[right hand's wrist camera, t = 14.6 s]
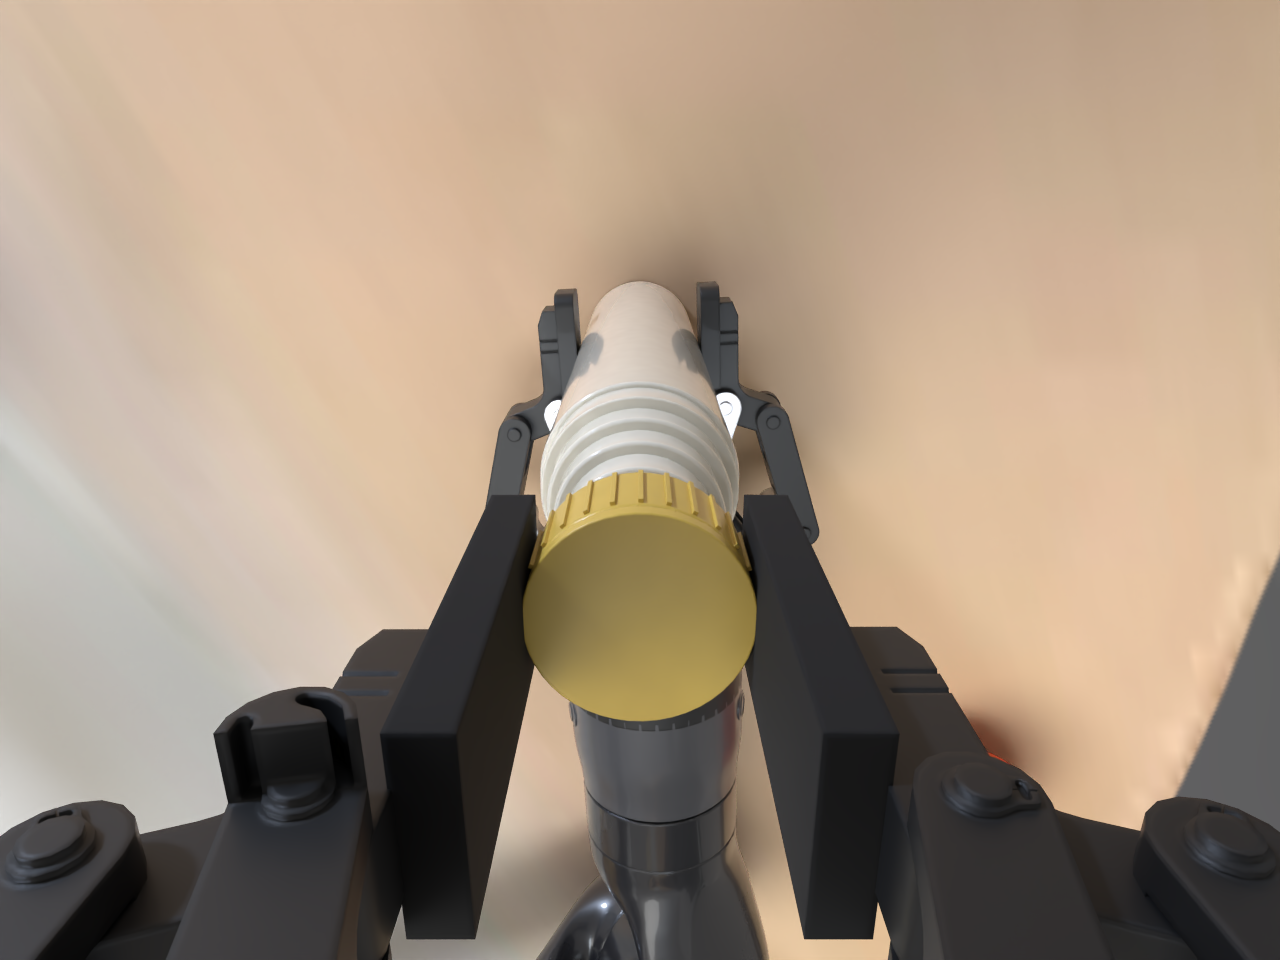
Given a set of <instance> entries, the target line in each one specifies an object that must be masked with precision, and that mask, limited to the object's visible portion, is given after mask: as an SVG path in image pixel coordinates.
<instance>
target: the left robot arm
mask: <svg viewBox="0 0 1280 960" xmlns="http://www.w3.org/2000/svg"><path fill="white" fill-rule="evenodd" d="M538 332H539V341H540V352H541V365H542V376H543V387H544V391H543V394H542V395H541V396H539V397H538V398H536V399H533V400H531V401H529V402H526V403H518V404H515V405H514V406H513V407H512V408H511V409H510V411H509V412H508V414H507V416H506V418H505V419H504V421H503V423H502V425H501V426H500V428H499V432H498V438H497V444H496V450H495V455H494V461H493V467H492V473H491V479H490V484H489V490H488V496H487V502H486V506H487V504H488V502H489V500H490V498H491V495H524V490H525V485H526V479H527V474H528V469H529V463H530V458H531V453H532V448H533V442H534V440H536V439H538V438H541V437H543V436H545V435H548V434H550V431H551V428H552V425H553V422H554V420H555V417H556V414H557V411H558V409H559V406H560V403H561V400H562V397H563V395H564V392H565V389H566V386H567V383H568V381H569V378H570V375H571V372H572V370H573V367H574V364H575V361H576V358H577V356H578V353H579V350H580V347H581V336H580V322H579V308H578V295H577V289H560V290H557V292H556V293H555V295H554V306H546V307H545V309H544V310H543V311H542V314H541V317H540V321H539V324H538ZM697 336H698V345H699V348H700V351H701V354H702V357H703V359H704V362H705V365H706V368H707V371H708V373H709V376H710V379H711V382H712V385H713V387H714V390H715V393H716V396H717V399H718V402H719V404H720V407H721V410H722V413H723V416H724V418H725V421H726V424H727V427H728V430H729V433H730V435H731V438H732V437H733V434H734V431H735V428H736V425H738V426H742V427H745V428H748V429H751V430H755V431H756V434H757V438H758V441H759V445H760V448H761V452H762V455H763V459H764V462H765V466H766V469H767V472H768V476H769V479H770V483H771V486H772V487H771V488H768V489H765V490H764V491H762V492H761V493H760V495H788V497H789V499H790V501H791V503H792V505H793V507H794V509H795V512H796V514H797V516H798V518H799V520H800V522H801V524H802V526H803V529H804V531H805V533H806V535H807V537H808V539H809V541H810V544H813V543H814V542H815V541H816V540H817V538H818V536H819V527H818V524H817V520H816V516H815V513H814V509H813V505H812V502H811V498H810V494H809V491H808V487H807V483H806V480H805V476H804V472H803V469H802V465H801V461H800V457H799V454H798V450H797V446H796V443H795V439H794V435H793V432H792V428H791V424H790V421H789V417H788V415H787V413H786V411H785V410H784V409H783V408H782V407H781V405H780V402H779V400H778V399H777V397H776V396H775V395H774V394H773V393H771V392H768V391H761V392H758V391H754V390H751V389H748V388H745V387H744V386H742V385H741V384H740V383H739V380H738V314H737V312H736V309H735V307H734V305H733V302H732V301H731V300H730V298H729V297H720V296H719V286H718V285H717V283H716V282H697ZM485 508H486V507H485ZM536 522H537V535H538V532H539V530H542V531H543V529H544V526H542V524H541V523H540V521H539V511H538V507H537V506H536ZM733 524H734V527H735V529H736V531H737V533H738V532H741V534H742V531H743V518H742V517H741V516H740V514H739V513H738V512H737V511H736V513H735V516H734V519H733ZM741 682H742V670H741V671H740V673H739V674H738V675H737V676H736V678H735V679H734V680H733V681H732V682H731V683H730V684H729V685H728V686H727V687H726V688H725V689H724V690H723V691H722V692H721V693H720V694H718V695H717V696H716V697H715V698H713V699H712V700H710V701H709V702H707V703H705V704H704V705H702V706H700V707H698V708H696V709H694V710H692V711H689V712H687V713H684V714H681V715H678V716H675V717H671V718H666V719H661V720H652V721H626V720H619V719H613V718H609V717H605V716H601V715H598V714H595V713H593V712H590V711H587V710H585V709H583V708H581V707H579V706H577V705H576V704H574V703H572V702H571V701H570V702H569V711H570V717H571V720H572V721H573V727H574V735H575V741H576V746H577V750H578V755H579V758H580V762H581V765H582V770H583V777H584V788H585V800H586V812H587V823H588V833H589V840H590V847H591V852H592V856H593V859H594V862H595V865H596V867H597V869H598V871H599V874H600V875H599V876H598V877H597V878H596V879H595V880H594V881H593V882H592V883H591V884H590V885H589V886H588V887H587V888H586V889H585V891H584V892H583V893H582V894H581V896H580V897H579V898H578V900H577V901H576V902H575V904H574V905H573V907H572V908H571V910H570V911H569V913H568V914H567V915H566V917H565V918H564V920H563V921H562V923H561V924H560V926H559V927H558V929H557V930H556V932H555V933H554V934H553V936H552V937H551V939H550V940H549V942H548V943H547V945H546V946H545V948H544V949H543V950H542V952H541V953H540V955H539V956H538V957H537V959H536V960H769V954H768V948H767V942H766V937H765V933H764V929H763V925H762V921H761V917H760V914H759V910H758V907H757V903H756V899H755V896H754V892H753V889H752V885H751V881H750V878H749V874H748V871H747V868H746V865H745V863H744V860H743V857H742V854H741V852H740V849H739V846H738V842H737V838H736V823H737V784H736V770H737V758H738V752H739V746H740V739H741V729H742V716H743V711H744V693H743V690H742V683H741Z"/></svg>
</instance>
